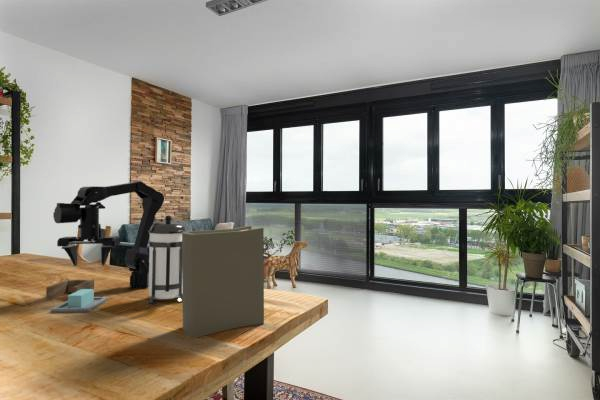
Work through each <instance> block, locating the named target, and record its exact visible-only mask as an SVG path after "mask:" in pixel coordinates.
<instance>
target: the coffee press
mask: <svg viewBox="0 0 600 400" xmlns="http://www.w3.org/2000/svg"><path fill="white" fill-rule="evenodd" d="M164 219H165V222H157V223H153V225H152V226H151V228H150V230H149V234H150V238H149V241H148V246H149V249H148V251H149V253H148V262H149V287H148V295H149V297H150V298H149V301H148V304H149V305H155V304H156V302H157V301H158V300H171V299H176V300H177V302H179V303H183V290H182V232H185V231H188V230H187V229H186V228H187V227H186V226H185V225H184V224H183V223H180V222H171V221H172V219H173V218H172V216H171V215H166V216H165V217H164Z"/></svg>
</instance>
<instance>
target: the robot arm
mask: <svg viewBox="0 0 600 400" xmlns="http://www.w3.org/2000/svg"><path fill="white" fill-rule="evenodd" d="M130 193H135V194H136V196H137V197H139V198H140V199H141V206H142V211H143V213H142V215H141V219H140V222H139V226H138V230H137V234H136V237H135V241H134V245H133V246H132V247H131V249H130V248H127V249H126V253H125V256H124V258H123V259H124V264H125V266H126V267H127V268H128V270H129V272H131V273H130V275H129V287H128V288H129V289H137V290H138V289H141V290H142V289H145V290H146V289H147V288H149V253H148V251H149V250H148V246H149V241H150V234H149V230H150V228H151V226H152V225H154V224H155V218H156V215H157V213H158V212H159V211H160V209H161V208H162V207H163V204H164V202H165V196H164V194H163V193H162V192H161V191H158V190H156V189H155V188H153V187H151V186H150V185H147V184H146V183H144V182H143V181H141V180H140V181H139V180H138V181H136V180H135V181H132V182H126V183H121V184H119V183H118V184H115V185H108V186H82V187H80V188H79V190H78V191H77V194H76V196H75V197H74V198H73V200H72V201H71V202H70V203H67V202H66V203H65V202H57V203H56V207H55V208H54V212H53V216H52V217H53V221H54V222H55V224H67V223H69V224H70V223H71V224H72V223H77V222H78V221H79V224H78V226H77V228H78V229H79V236H78V237H77V236H63V237H59V238H58V240H57V241H56V243H57V245H56V246H57V247H61V249H62V250H64V251H65V253H66V254H67V255H68V257H69V259H70V260H71V263H72V264H73V266H74V267H76V266H78V247H79V245H95V244H96V245H98V244H99V245H100V244H101V245H103V246H101V247H100V249H101V250H100V251H101V252H100V253H101V265H102V266H105V264H106V262H107V259H108V257H109V254H110V252H111V250H112V249H113V248H114V247H116V246H117V245H120V244H121V238H120V236H118V235H117V236H116V235H115V236H114V235H113V236H112V235H111V236H109V235H108V236H106V234H107V230H105V229H104V228H101V223H100V216H99V215H100V210H101V209H103V210H104V209H106V206H105V205H103V204H102V203H101V201H103V200H105V199H108V198H110V197H114V196H120V195H125V194H130ZM92 203H93V204H92ZM81 206H82V207H81Z"/></svg>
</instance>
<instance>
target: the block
mask: <svg viewBox="0 0 600 400" xmlns="http://www.w3.org/2000/svg"><path fill="white" fill-rule="evenodd" d="M94 292H95V288H94V289H81V290H79V291H77V292H74V293H72V292H71V294H68V295H67V301H68V308H82V307H84V306H86V305H87V304H89V303H91V302H92V301H94V297H95V293H94Z"/></svg>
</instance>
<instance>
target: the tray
mask: <svg viewBox="0 0 600 400" xmlns="http://www.w3.org/2000/svg"><path fill="white" fill-rule="evenodd" d="M108 300H109V297H108V296H94V301H92V302H91V303H89V304H87V305H86V306H84V307H82V308H68V300H66V301H64V302H62V303H60V304H58V305H56V306H54V307H52V308H51V310H50V313H51V312H69V313H90V312H91V310H92V311H93V310H95V309H96V308H98V307H99V306H101V305H103V304H104V303H106V302H107V301H108ZM89 311H90V312H89Z"/></svg>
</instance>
